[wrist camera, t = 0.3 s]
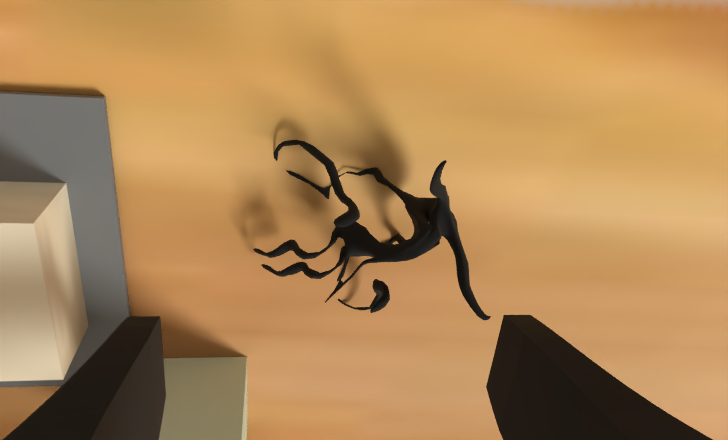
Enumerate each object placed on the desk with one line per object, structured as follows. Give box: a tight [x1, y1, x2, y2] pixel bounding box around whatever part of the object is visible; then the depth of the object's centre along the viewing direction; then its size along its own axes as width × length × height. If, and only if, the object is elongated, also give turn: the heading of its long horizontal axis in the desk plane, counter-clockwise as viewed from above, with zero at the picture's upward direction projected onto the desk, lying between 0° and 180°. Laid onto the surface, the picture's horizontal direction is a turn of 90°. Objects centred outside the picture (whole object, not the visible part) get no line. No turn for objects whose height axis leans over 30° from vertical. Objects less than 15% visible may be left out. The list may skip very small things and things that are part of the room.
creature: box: [253, 140, 491, 320], centre depth 20 cm, size 8×5×8 cm
